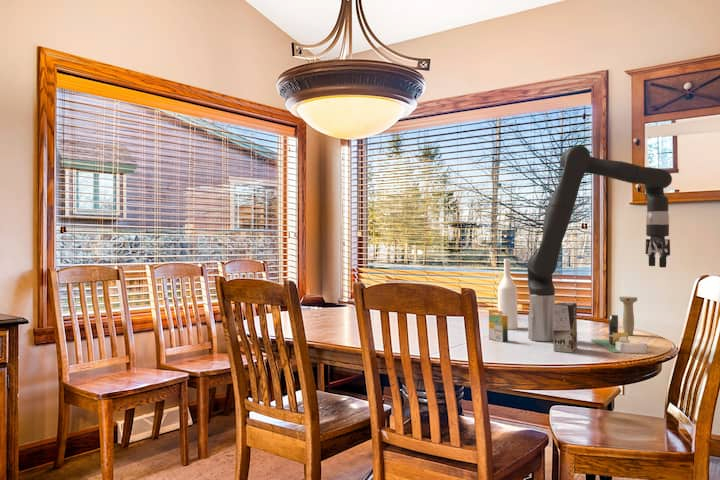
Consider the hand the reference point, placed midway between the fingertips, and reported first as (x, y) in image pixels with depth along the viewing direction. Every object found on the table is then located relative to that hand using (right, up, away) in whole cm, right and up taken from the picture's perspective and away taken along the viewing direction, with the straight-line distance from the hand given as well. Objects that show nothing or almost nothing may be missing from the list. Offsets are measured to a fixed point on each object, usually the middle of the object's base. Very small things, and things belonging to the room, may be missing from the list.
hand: (657, 266), depth 204 cm
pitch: (-20, -28, -11) cm, 36 cm away
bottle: (-48, -28, +30) cm, 63 cm away
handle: (-5, -28, +11) cm, 30 cm away
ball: (-19, -26, -14) cm, 35 cm away
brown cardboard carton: (-19, -28, -9) cm, 35 cm away
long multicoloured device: (-19, -27, -7) cm, 34 cm away
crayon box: (-59, -29, +3) cm, 66 cm away
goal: (-20, -28, -20) cm, 39 cm away
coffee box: (-40, -28, -16) cm, 52 cm away
